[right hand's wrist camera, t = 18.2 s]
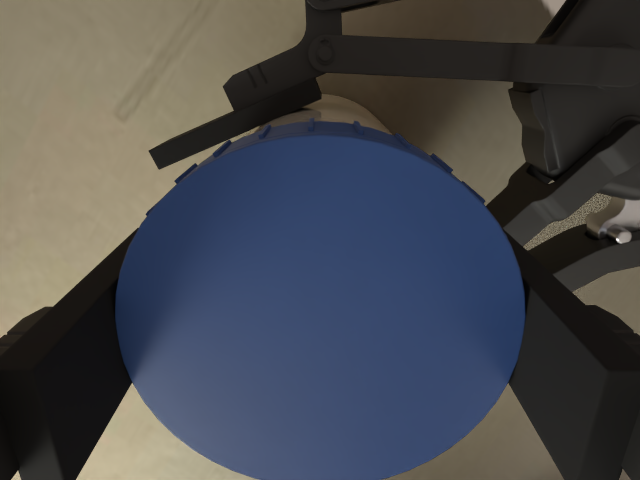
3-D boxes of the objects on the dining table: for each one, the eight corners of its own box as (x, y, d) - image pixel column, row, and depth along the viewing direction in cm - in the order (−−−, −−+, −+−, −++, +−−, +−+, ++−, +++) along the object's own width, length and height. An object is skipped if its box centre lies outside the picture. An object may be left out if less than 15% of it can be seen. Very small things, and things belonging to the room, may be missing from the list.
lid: (398, 35, 10) (417, 29, 8) (547, 349, 13) (586, 400, 11) (69, 238, 11) (19, 273, 10) (268, 472, 14) (260, 534, 13)
